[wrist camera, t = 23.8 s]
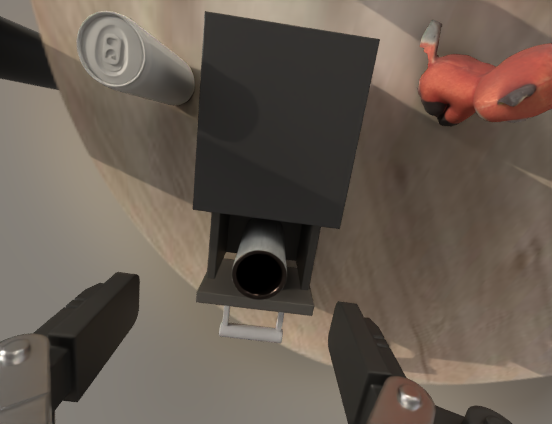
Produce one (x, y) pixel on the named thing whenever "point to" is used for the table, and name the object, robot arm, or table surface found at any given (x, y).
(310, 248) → the drawer
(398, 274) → the table surface
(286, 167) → the cabinet
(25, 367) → the robot arm
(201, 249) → the table surface
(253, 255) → the grey hollow cylinder
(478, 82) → the stuffed fox
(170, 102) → the beverage can
